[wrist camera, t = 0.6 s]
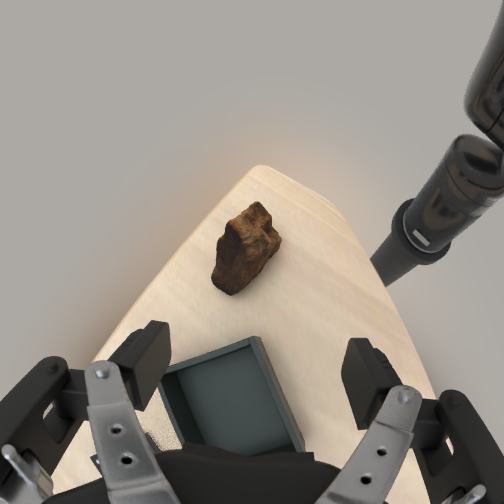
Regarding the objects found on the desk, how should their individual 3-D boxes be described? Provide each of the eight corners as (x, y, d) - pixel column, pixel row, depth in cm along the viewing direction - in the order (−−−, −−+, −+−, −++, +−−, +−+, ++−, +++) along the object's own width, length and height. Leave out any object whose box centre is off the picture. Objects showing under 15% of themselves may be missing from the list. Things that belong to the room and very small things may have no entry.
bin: (259, 337, 38) (253, 335, 32) (304, 441, 32) (306, 458, 26) (171, 368, 38) (151, 371, 32) (213, 466, 32) (201, 484, 26)
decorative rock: (260, 224, 44) (251, 188, 34) (289, 246, 42) (288, 215, 32) (208, 279, 42) (183, 257, 32) (236, 305, 40) (218, 291, 30)
